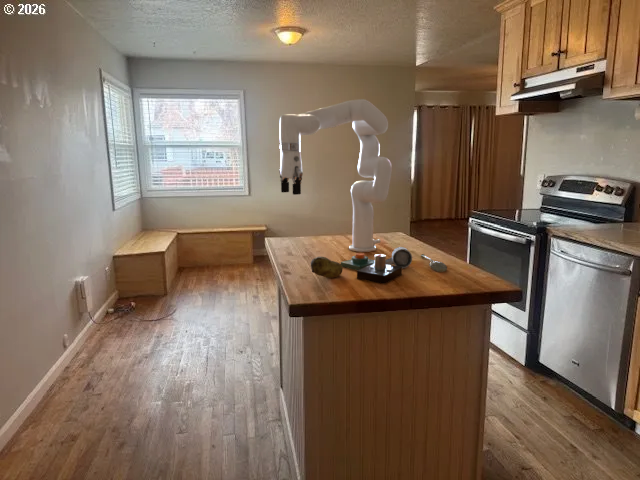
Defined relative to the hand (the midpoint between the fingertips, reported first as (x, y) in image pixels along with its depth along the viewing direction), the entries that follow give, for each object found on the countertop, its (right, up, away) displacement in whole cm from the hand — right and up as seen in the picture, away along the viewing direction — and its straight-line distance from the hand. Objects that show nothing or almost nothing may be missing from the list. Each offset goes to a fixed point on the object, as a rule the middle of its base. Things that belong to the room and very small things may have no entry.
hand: (290, 193), depth 170 cm
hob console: (+33, -32, -10) cm, 47 cm away
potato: (+14, -32, -11) cm, 36 cm away
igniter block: (+27, -28, +5) cm, 40 cm away
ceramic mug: (+42, -29, +5) cm, 51 cm away
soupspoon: (+56, -28, +7) cm, 63 cm away
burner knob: (+33, -29, -11) cm, 45 cm away
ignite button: (+27, -25, +5) cm, 37 cm away
